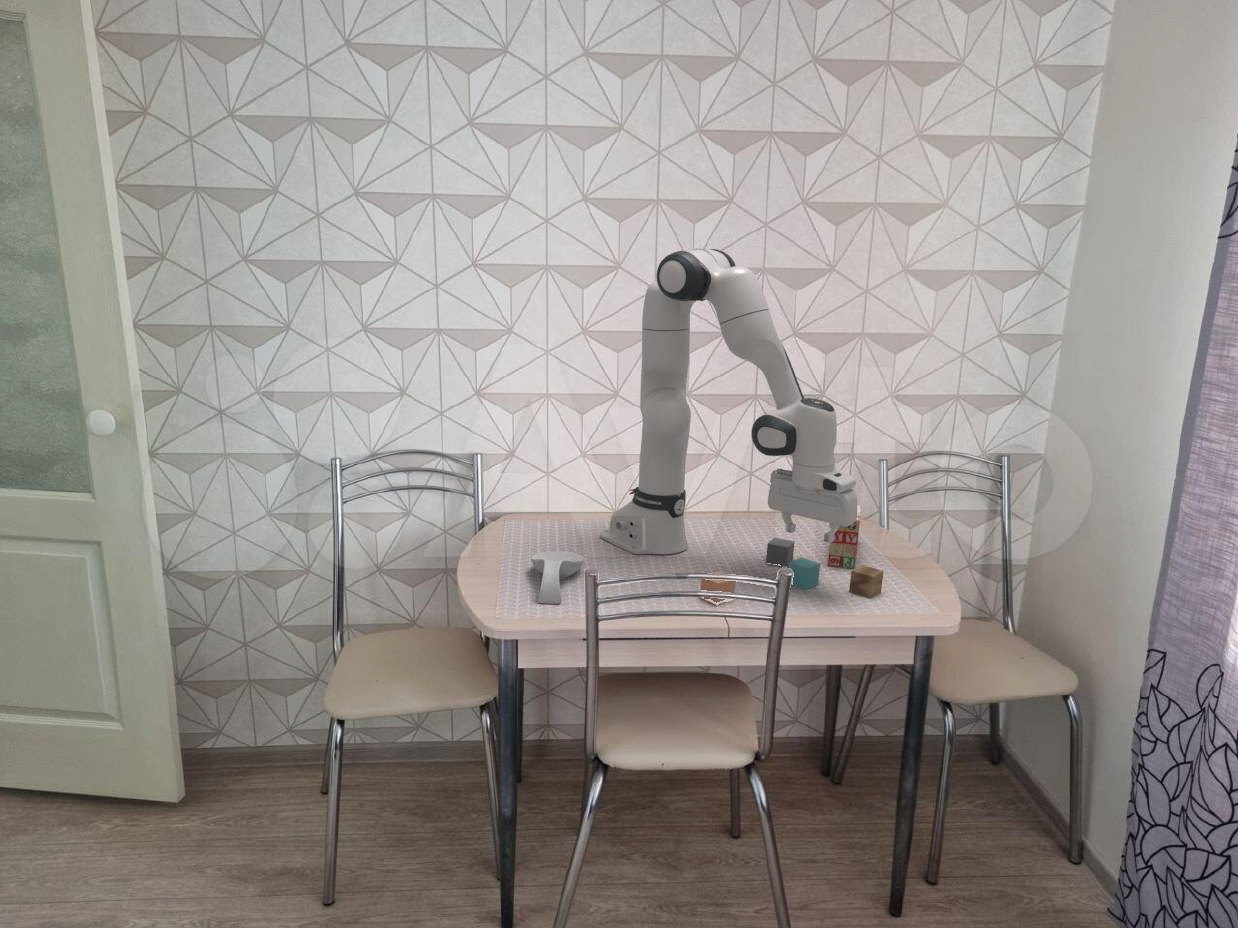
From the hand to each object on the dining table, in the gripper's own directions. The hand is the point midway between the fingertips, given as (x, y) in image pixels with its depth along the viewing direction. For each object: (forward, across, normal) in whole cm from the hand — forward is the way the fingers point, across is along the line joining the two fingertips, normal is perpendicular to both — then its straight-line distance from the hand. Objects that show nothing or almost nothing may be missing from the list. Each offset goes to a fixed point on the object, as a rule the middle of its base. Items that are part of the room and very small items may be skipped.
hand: (809, 536), depth 195 cm
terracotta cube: (+11, -9, -21) cm, 25 cm away
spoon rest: (+10, -39, -40) cm, 56 cm away
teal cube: (+11, -1, 0) cm, 11 cm away
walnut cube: (+12, +11, +6) cm, 17 cm away
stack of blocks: (+12, -4, +25) cm, 28 cm away
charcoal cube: (+11, -12, +8) cm, 18 cm away
